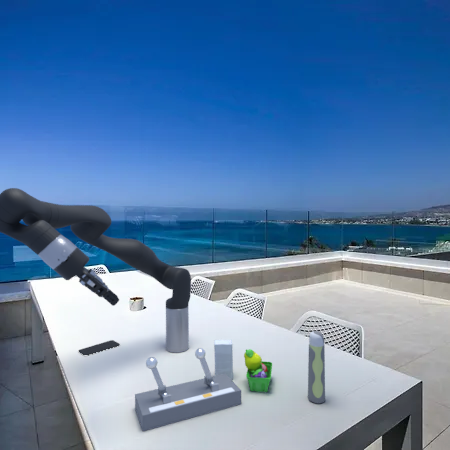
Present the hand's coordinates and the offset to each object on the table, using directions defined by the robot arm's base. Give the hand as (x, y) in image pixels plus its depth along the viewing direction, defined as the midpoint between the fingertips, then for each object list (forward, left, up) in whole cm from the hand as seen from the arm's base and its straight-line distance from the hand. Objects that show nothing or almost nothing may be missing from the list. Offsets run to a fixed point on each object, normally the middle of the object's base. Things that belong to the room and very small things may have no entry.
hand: (115, 301), depth 86 cm
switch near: (+2, +12, -27) cm, 29 cm away
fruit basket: (0, +43, -32) cm, 54 cm away
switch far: (+2, +26, -27) cm, 37 cm away
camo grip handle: (+15, +54, -32) cm, 65 cm away
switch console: (+2, +19, -32) cm, 37 cm away
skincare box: (-9, +35, -32) cm, 48 cm away
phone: (-53, -1, -32) cm, 62 cm away
